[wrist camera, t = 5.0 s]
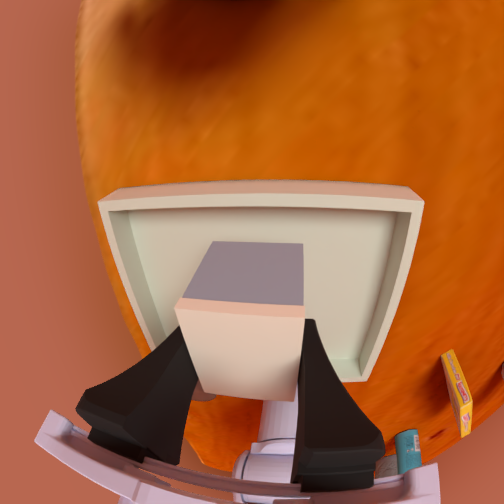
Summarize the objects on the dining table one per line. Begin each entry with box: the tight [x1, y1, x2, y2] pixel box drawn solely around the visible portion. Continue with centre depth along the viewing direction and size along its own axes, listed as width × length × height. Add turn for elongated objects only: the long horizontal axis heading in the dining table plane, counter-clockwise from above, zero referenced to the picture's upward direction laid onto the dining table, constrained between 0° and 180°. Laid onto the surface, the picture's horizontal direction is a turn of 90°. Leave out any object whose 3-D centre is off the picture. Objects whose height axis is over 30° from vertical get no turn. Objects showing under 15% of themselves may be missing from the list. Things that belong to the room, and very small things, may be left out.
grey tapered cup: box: [375, 454, 398, 479], centre depth 42 cm, size 10×10×12 cm
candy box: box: [441, 349, 473, 438], centre depth 23 cm, size 16×2×8 cm, turn 38°
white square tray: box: [98, 180, 424, 382], centre depth 21 cm, size 19×22×3 cm
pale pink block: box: [174, 241, 305, 402], centre depth 13 cm, size 6×5×5 cm
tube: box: [395, 429, 422, 475], centre depth 29 cm, size 7×5×19 cm, turn 77°
